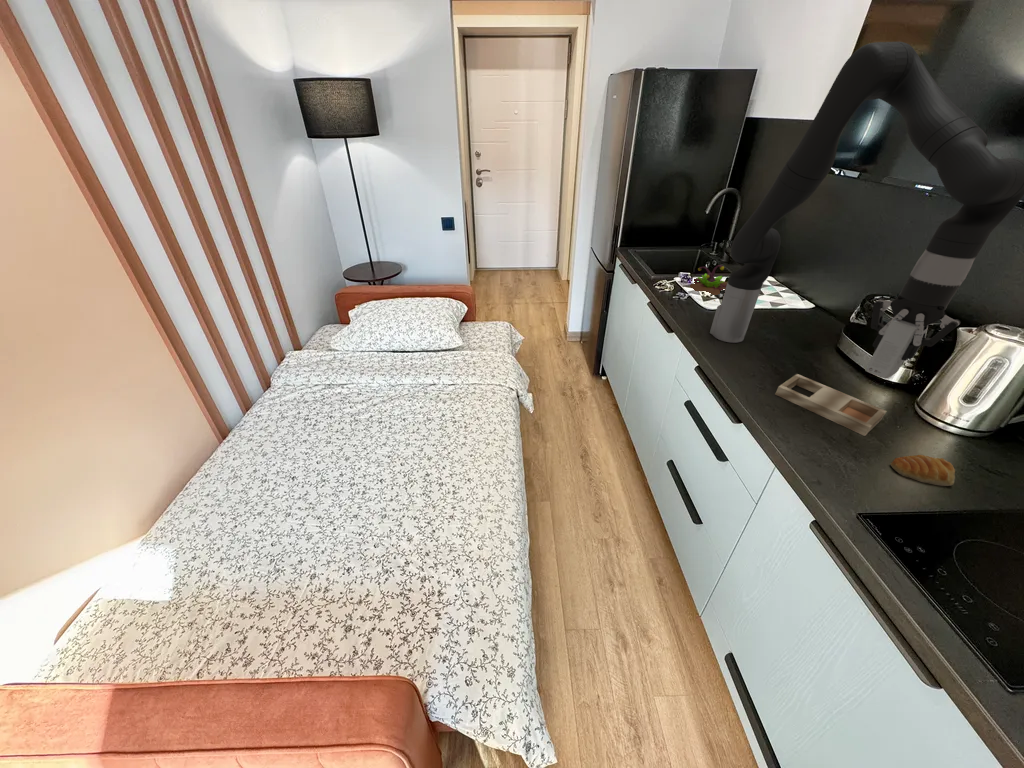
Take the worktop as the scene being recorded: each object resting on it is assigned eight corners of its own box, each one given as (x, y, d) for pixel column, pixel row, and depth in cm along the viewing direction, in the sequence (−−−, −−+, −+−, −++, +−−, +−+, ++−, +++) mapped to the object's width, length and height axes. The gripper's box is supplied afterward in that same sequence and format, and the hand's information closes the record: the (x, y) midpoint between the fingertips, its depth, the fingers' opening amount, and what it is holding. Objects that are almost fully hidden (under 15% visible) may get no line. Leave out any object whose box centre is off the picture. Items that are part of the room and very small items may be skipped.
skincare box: (886, 380, 89) (917, 328, 82) (862, 370, 92) (890, 320, 85) (898, 371, 92) (929, 321, 85) (874, 362, 95) (903, 313, 88)
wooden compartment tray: (775, 394, 108) (778, 386, 106) (793, 381, 113) (797, 373, 111) (864, 436, 94) (870, 427, 93) (881, 419, 99) (886, 411, 98)
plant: (730, 306, 155) (739, 277, 148) (676, 295, 163) (683, 267, 157) (738, 289, 168) (747, 261, 162) (688, 280, 177) (695, 253, 171)
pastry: (899, 482, 83) (909, 468, 81) (881, 458, 89) (890, 445, 87) (953, 489, 82) (965, 475, 80) (932, 465, 87) (943, 451, 85)
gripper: (884, 270, 83) (845, 346, 93) (981, 292, 73) (926, 374, 83) (898, 263, 87) (859, 336, 96) (991, 283, 77) (938, 363, 87)
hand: (890, 354), depth 90 cm, fingers closed on skincare box, 4 cm apart
